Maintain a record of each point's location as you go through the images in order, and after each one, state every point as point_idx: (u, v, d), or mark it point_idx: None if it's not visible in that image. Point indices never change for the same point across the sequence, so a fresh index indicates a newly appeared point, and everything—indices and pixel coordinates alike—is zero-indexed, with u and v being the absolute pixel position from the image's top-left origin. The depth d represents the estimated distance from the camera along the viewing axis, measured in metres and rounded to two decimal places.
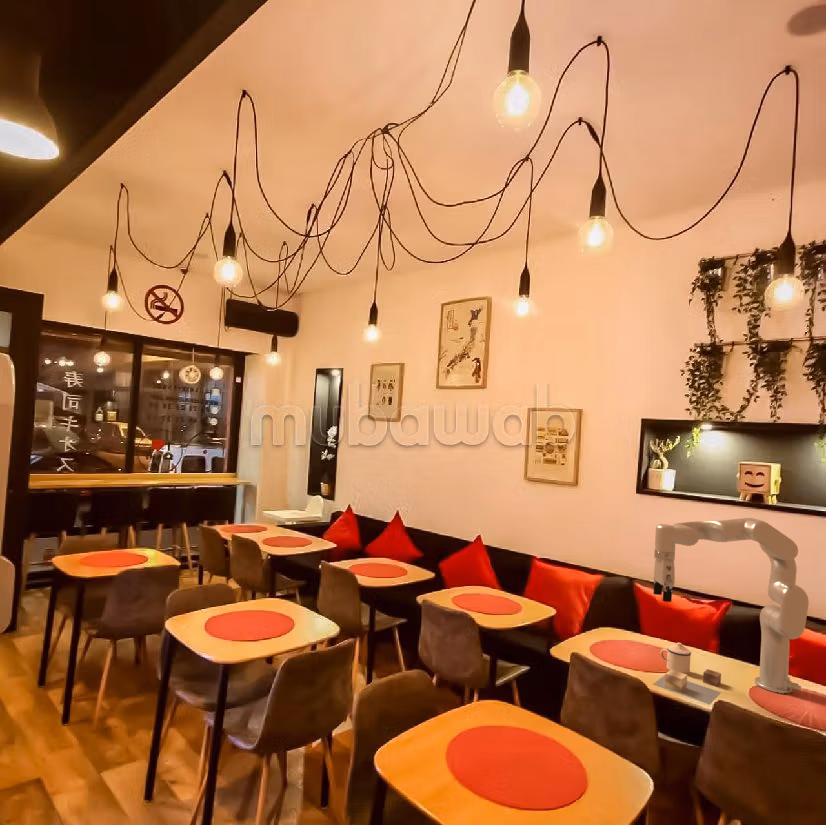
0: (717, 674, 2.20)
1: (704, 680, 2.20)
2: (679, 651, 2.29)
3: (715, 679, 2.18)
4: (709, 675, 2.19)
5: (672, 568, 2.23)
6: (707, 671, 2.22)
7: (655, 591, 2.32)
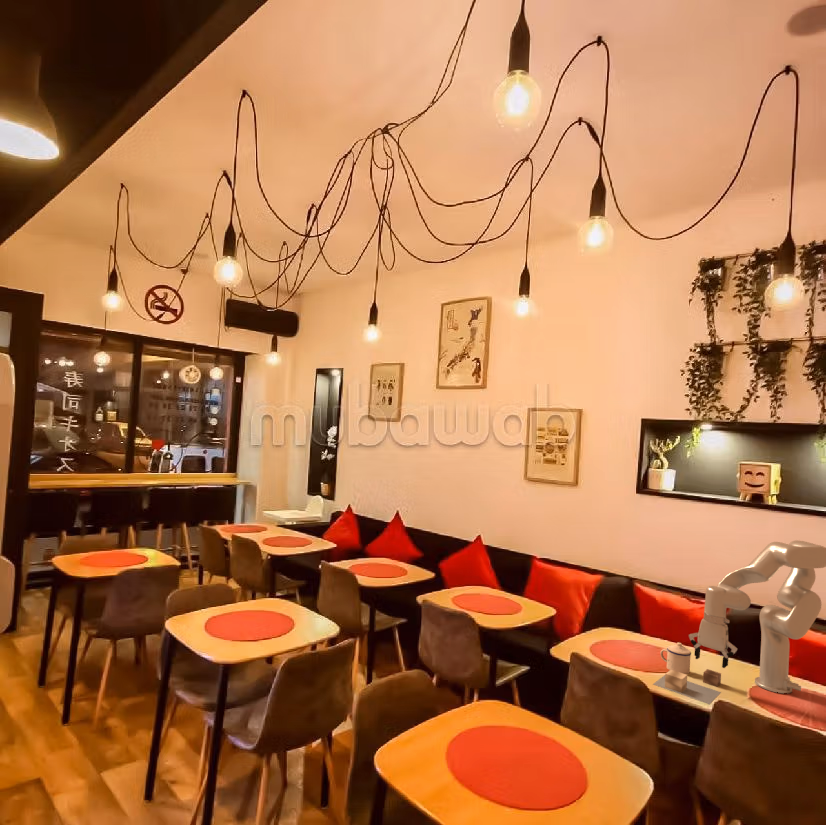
0: (717, 674, 2.20)
1: (704, 680, 2.20)
2: (679, 651, 2.29)
3: (715, 679, 2.18)
4: (709, 675, 2.19)
5: None
6: (707, 671, 2.22)
7: (697, 656, 2.23)
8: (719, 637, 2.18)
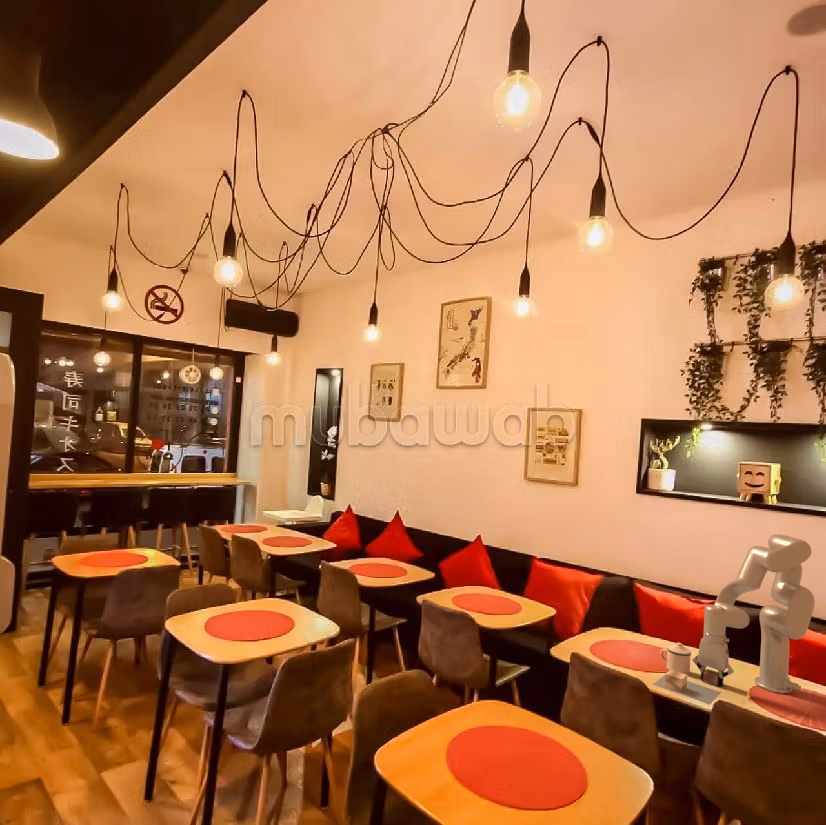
0: (717, 674, 2.20)
1: (704, 680, 2.20)
2: (679, 651, 2.29)
3: (715, 679, 2.18)
4: (709, 675, 2.19)
5: None
6: (707, 671, 2.22)
7: None
8: (719, 656, 2.17)
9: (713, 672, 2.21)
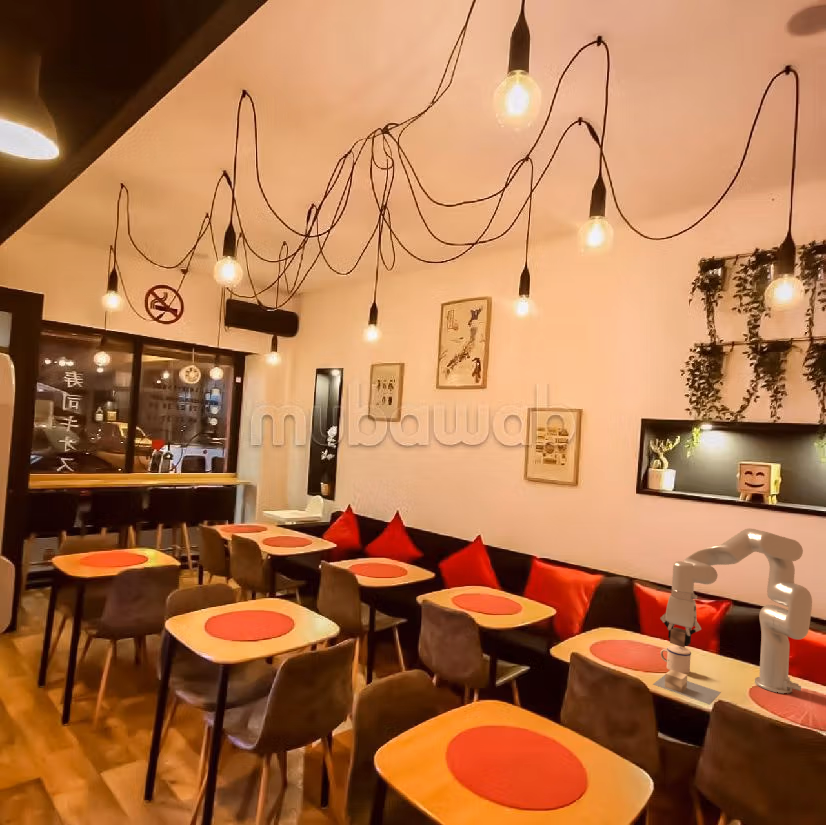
0: (685, 631, 2.14)
1: (671, 638, 2.14)
2: (679, 651, 2.29)
3: (682, 636, 2.12)
4: (676, 632, 2.13)
5: None
6: (675, 629, 2.16)
7: None
8: (687, 613, 2.12)
9: (681, 630, 2.15)
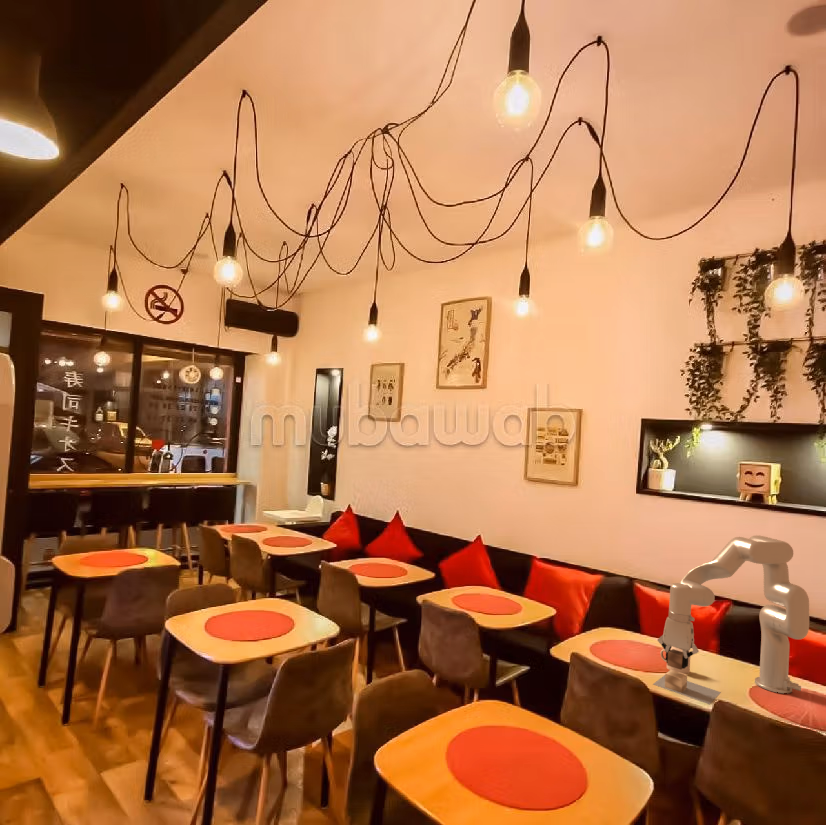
0: (682, 654, 2.13)
1: (669, 660, 2.14)
2: None
3: (679, 659, 2.11)
4: (674, 655, 2.13)
5: None
6: (672, 651, 2.15)
7: None
8: (684, 636, 2.11)
9: (678, 652, 2.15)
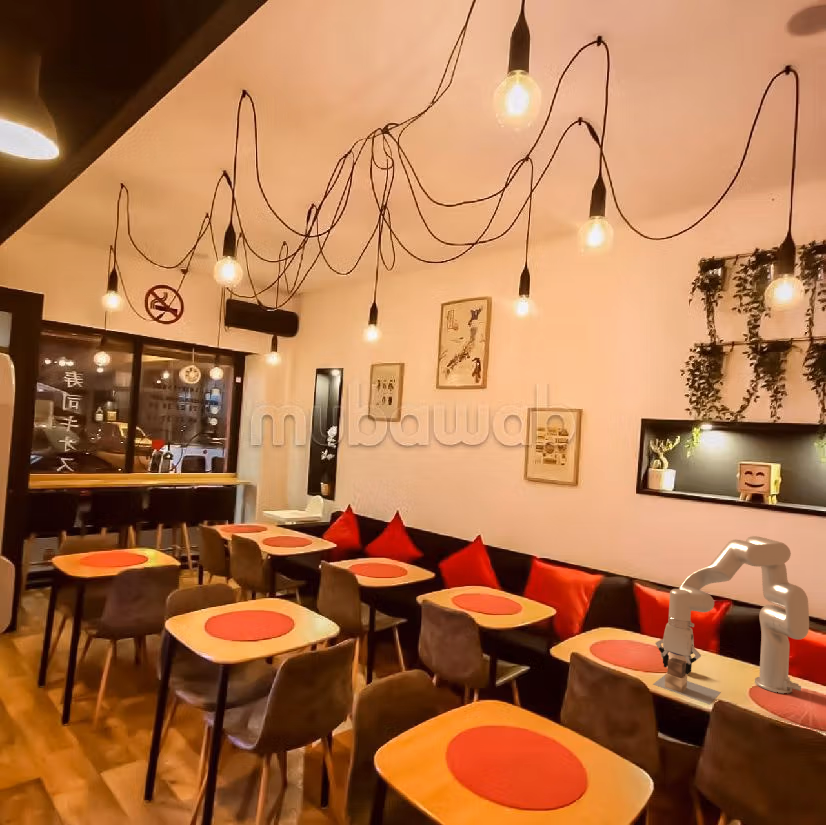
0: (682, 662, 2.13)
1: (668, 668, 2.14)
2: None
3: (679, 667, 2.11)
4: (673, 663, 2.13)
5: None
6: (672, 659, 2.15)
7: (666, 664, 2.16)
8: (684, 642, 2.11)
9: (678, 660, 2.14)
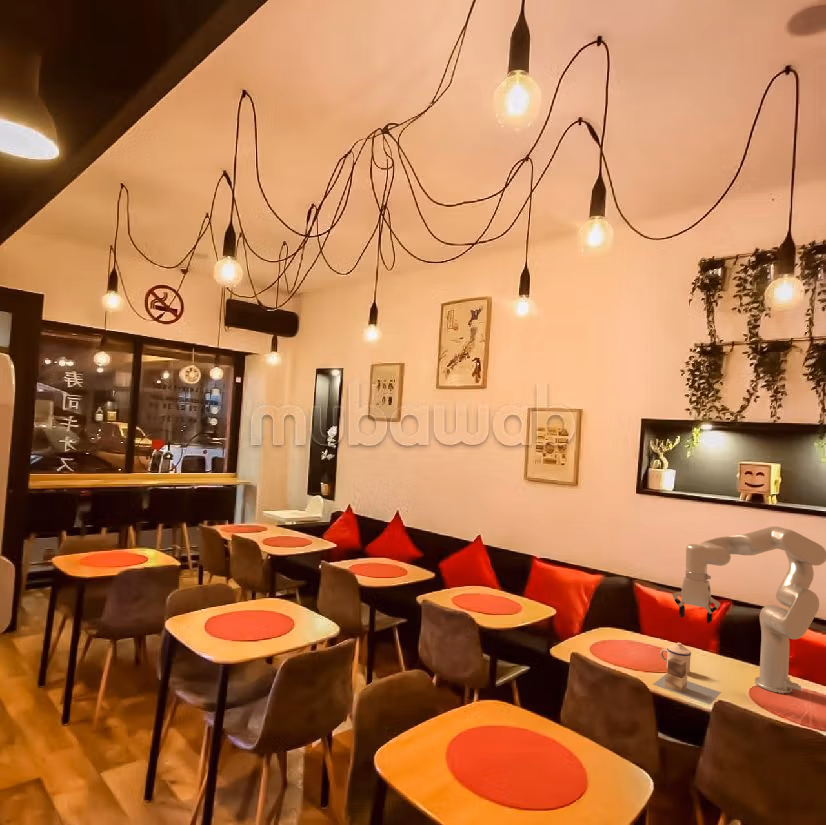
0: (682, 662, 2.13)
1: (668, 668, 2.14)
2: (679, 651, 2.29)
3: (679, 667, 2.11)
4: (673, 663, 2.13)
5: None
6: (672, 659, 2.15)
7: (682, 614, 2.25)
8: (702, 593, 2.20)
9: (678, 660, 2.14)
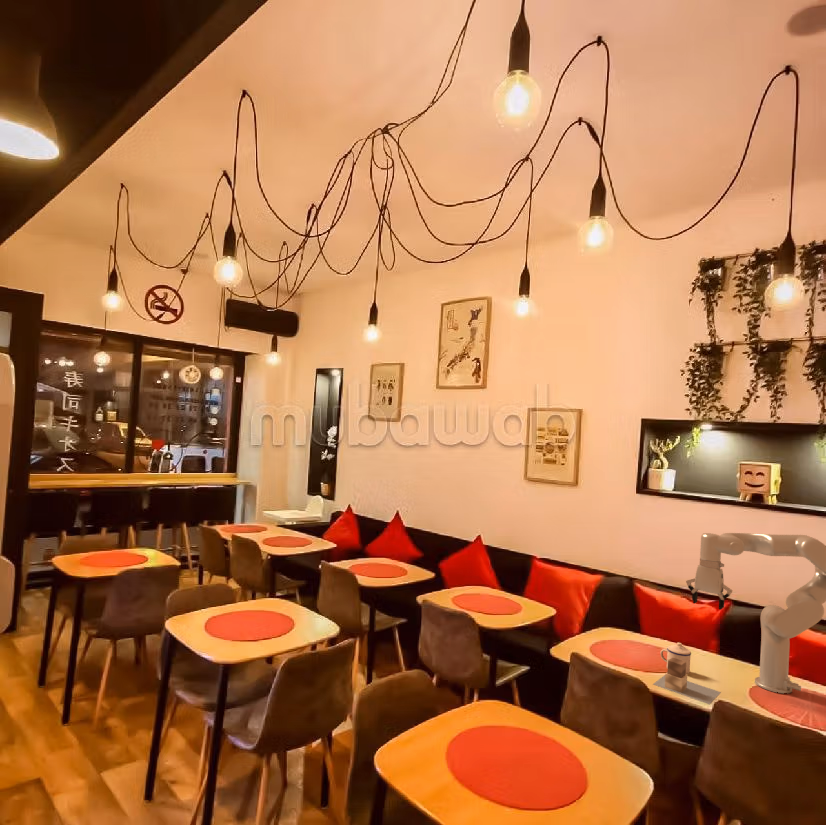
0: (682, 662, 2.13)
1: (668, 668, 2.14)
2: (679, 651, 2.29)
3: (679, 667, 2.11)
4: (673, 663, 2.13)
5: None
6: (672, 659, 2.15)
7: (695, 600, 2.33)
8: (715, 580, 2.28)
9: (678, 660, 2.14)
